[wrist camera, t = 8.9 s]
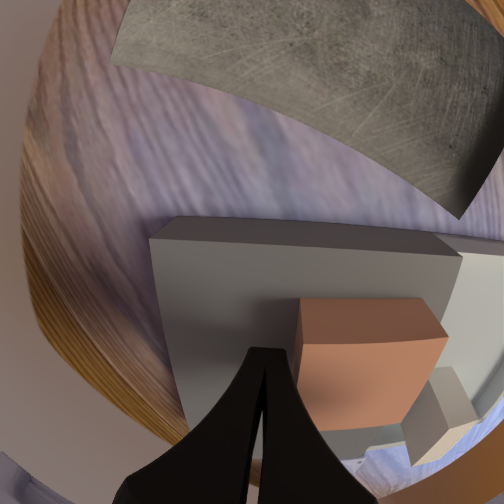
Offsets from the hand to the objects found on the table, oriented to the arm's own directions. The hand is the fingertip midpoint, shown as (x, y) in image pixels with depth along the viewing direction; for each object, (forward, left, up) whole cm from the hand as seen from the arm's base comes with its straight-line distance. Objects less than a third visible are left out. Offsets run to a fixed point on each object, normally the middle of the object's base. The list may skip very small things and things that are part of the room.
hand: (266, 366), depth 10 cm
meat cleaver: (+11, -9, -4) cm, 15 cm away
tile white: (-7, -10, -1) cm, 12 cm away
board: (-3, -2, -4) cm, 6 cm away
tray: (-3, -14, -4) cm, 15 cm away
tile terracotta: (0, -4, -1) cm, 4 cm away
